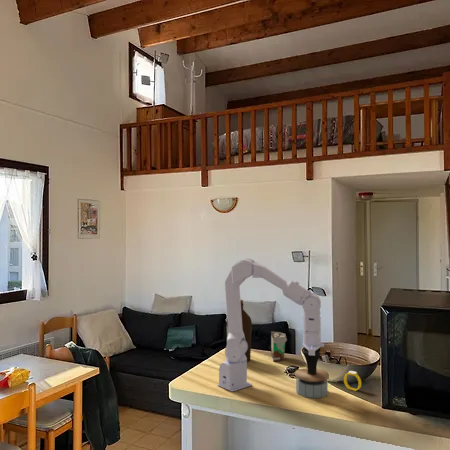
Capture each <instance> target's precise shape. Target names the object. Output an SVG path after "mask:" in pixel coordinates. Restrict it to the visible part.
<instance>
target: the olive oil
mask: <svg viewBox="0 0 450 450" xmlns="http://www.w3.org/2000/svg"><path fill="white" fill-rule="evenodd" d="M240 301H241V315H242V329H243V332H244V336H245V340H246V342H247V344H248V349H247V351H246V353H245V356H246V357H247V363H249V362H250V361H251V357H252V356H251V353H252V351H251V350H252V349H251V348H252V332H253V331H252V330H253V321H252V317H250V315H249V314H248V313H247V312H246V311H245V310H244V300H243V299H240ZM225 324H226V338H227V337H228V319H227V320H226V323H225Z"/></svg>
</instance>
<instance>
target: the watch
mask: <svg viewBox="0 0 450 450" xmlns="http://www.w3.org/2000/svg"><path fill="white" fill-rule="evenodd" d="M348 376H354V377H355V378H356V379H357V382H358V386H357V387H356V388H355V387H351V386H350V384H349V383H348V381H347V379H348ZM343 384H344V385H345V387H346V388H347V389H348V390H352V391H354V392H356V391H358V390H360V389H361V387H362V379H361V377H360V376H359V374H358V372H357V371H354V370H349V371H348V372H347V373H345V375H344V377H343Z"/></svg>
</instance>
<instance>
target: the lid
mask: <svg viewBox="0 0 450 450" xmlns="http://www.w3.org/2000/svg"><path fill="white" fill-rule="evenodd" d="M294 375H295V377H296V379H297V378H298V379H301V380H304V381H310V382H321V381H325V380H327V381H328V380H330V379H329V374H328V371H325V370H322V369H319V368H317V367H316V372H315V373H309V372H308V367H307V368H299V369H297V370H296V371H295V373H294Z"/></svg>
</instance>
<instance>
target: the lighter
mask: <svg viewBox="0 0 450 450" xmlns="http://www.w3.org/2000/svg"><path fill="white" fill-rule="evenodd" d="M321 359H322V361H325V362H330V360H329V359H330V358H329V355H328V354H325V355H322V356H321ZM330 363H331V362H330Z"/></svg>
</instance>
